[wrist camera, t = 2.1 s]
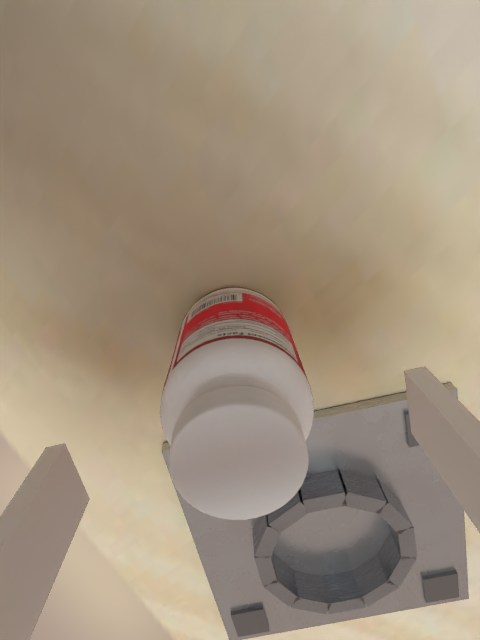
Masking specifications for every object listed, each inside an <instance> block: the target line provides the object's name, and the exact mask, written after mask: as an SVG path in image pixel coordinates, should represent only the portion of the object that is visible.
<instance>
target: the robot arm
mask: <svg viewBox="0 0 480 640" xmlns="http://www.w3.org/2000/svg"><path fill="white" fill-rule="evenodd" d="M404 373H405V382H406V391H407V400H408V409H409V418H410V427H411V433H412V435H413V436H414V438H415V439H416V441H417V442H418V444H419V445H420V447H421V448H422V449H423V451H424V452H425V454H426V455H427V457H428V458H429V460H430V461H431V463H432V464H433V465H434V467H435V468H436V470H437V471H438V473H439V474H440V476H441V477H442V479H443V480H444V482H445V483H446V484H447V486H448V487H449V489H450V490H451V492H452V493H453V495H454V496H455V498H456V499H457V500H458V502H459V503H460V505H461V506H462V508H463V509H464V511H465V512H466V514H467V515H468V517H469V518H470V519H471V521H472V522H473V524H474V525H475V527H476V528H477V530H478V531H479V533H480V422H479V421H478V420H477V419H476V418H475V416H474V415H473V414H472V413H471V412H470V411H469V410H468V409H467V408H466V407H465V406H464V405H463V404H462V403H461V402H460V401H459V400H458V399H457V398H456V397H455V396H454V395H453V394H452V393H451V392H450V391H449V390H448V389H447V388H446V387H445V386H444V385H443V384H442V383H441V382H440V381H439V380H438V379H437V378H436V377H435V376H434V375H433V374H432V373H431V372H430V371H429V370H428V369H427V368H426V367H425V366H424V367H420V368H415V369H410V370H406V371H404ZM88 501H89V497H88V494H87V492H86V490H85V487H84V485H83V483H82V481H81V478H80V476H79V474H78V472H77V469H76V467H75V465H74V462H73V460H72V458H71V456H70V453H69V451H68V449H67V447H66V444H65V443H64V444H59V445H55V446H50V447H46V448H45V450H44V451H43V453H42V454H41V456H40V457H39V459H38V460H37V462H36V463H35V465H34V466H33V468H32V469H31V471H30V473H29V474H28V476H27V477H26V479H25V480H24V482H23V483H22V485H21V486H20V488H19V489H18V491H17V492H16V494H15V495H14V497H13V498H12V500H11V501H10V503H9V505H8V506H7V507H6V509H5V510H4V512H3V514H2V515H1V517H0V640H30V637H31V635H32V632H33V630H34V628H35V625H36V623H37V621H38V619H39V616H40V614H41V612H42V609H43V607H44V605H45V602H46V600H47V597H48V595H49V593H50V590H51V588H52V586H53V583H54V581H55V579H56V576H57V574H58V572H59V569H60V567H61V565H62V562H63V560H64V558H65V555H66V553H67V551H68V548H69V546H70V544H71V541H72V539H73V537H74V534H75V532H76V529H77V527H78V525H79V522H80V520H81V518H82V515H83V513H84V511H85V508H86V506H87V504H88Z"/></svg>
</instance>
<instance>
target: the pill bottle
mask: <svg viewBox="0 0 480 640" xmlns="http://www.w3.org/2000/svg"><path fill="white" fill-rule="evenodd" d="M160 415H161V423H162V428H163V431H164V434H165V437H166V439H167V441H168V443H169V445H170V453H169V470H170V475H171V478H172V481H173V483H174V485H175V487H176V489H177V490H178V492H179V493H180V495H181V496H182V497H183V498H184V499H185V500H186V501H187V502H188V503H189V504H190V505H192V506H193V507H194V508H196V509H198V510H200V511H201V512H203V513H206V514H208V515H211V516H214V517H218V518H222V519H229V520H245V519H252V518H257V517H261V516H264V515H267V514H269V513H271V512H273V511H275V510H277V509H279V508H281V507H282V506H283V505H285V504H286V503H287V502H288V501H289V500H291V499H292V498H293V497H294V496H295V494H296V493H297V492H298V490H299V489H300V487H301V486H302V484H303V482H304V479H305V477H306V474H307V470H308V462H309V457H308V449H307V445H306V440H307V438H308V435H309V433H310V430H311V427H312V423H313V416H314V404H313V397H312V393H311V389H310V386H309V383H308V380H307V377H306V374H305V371H304V369H303V366H302V363H301V360H300V358H299V355H298V352H297V350H296V347H295V344H294V341H293V339H292V336H291V333H290V331H289V328H288V325H287V323H286V321H285V319H284V316H283V315H282V313H281V311H280V310H279V309H278V308H277V306H276V305H275V304H274V303H273V302H272V301H271V300H269V299H268V298H266V297H265V296H263V295H262V294H260V293H257V292H255V291H252V290H249V289H243V288H226V289H221V290H217V291H214V292H212V293H210V294H208V295H206V296H204V297H203V298H201V299H200V300H199V301H198V302H196V303H195V304H194V305H193V306H192V308H191V309H190V310H189V312H188V313H187V315H186V317H185V318H184V321H183V323H182V326H181V329H180V332H179V335H178V339H177V343H176V347H175V351H174V354H173V358H172V361H171V365H170V368H169V372H168V375H167V378H166V382H165V385H164V389H163V393H162V399H161V407H160Z"/></svg>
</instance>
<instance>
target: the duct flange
mask: <svg viewBox="0 0 480 640" xmlns="http://www.w3.org/2000/svg"><path fill="white" fill-rule="evenodd" d="M443 385H444V386H445V387H446V388H447V389H448V390H449V391H450V392H451V393H452V394H453V395H454V396H455V397H456V398H457V399H458V395H457V389H456V388H455V387H454V386H453V385H452V384H451V383H446V384H443ZM306 445H307V449H308V457H309V462H308V470H307V474H306V477H305V479H304V482H303V484H302V486H301V487H300V489H299V490H298V492H297V493H296V494H295V496H294V497H293V498H292V499H291V500H289V501H288V502H287V503H286V504H285V505H283V506H282V507H281V508H279V509H277V510H275V511H273V512H271V513H269V514H267V515H264V516H261V517H257V518H252V519H245V520H229V519H222V518H218V517H214V516H211V515H208V514H206V513H203V512H201V511H200V510H198V509H196V508H194V507H193V506H192V505H190V504H189V503H188V502H187V501H186V500H185V499H184V498H183V497H182V496H181V495H180V493H179V492H178V490H177V489H176V487H175V485H174V487H175V490H176V492H177V495H178V498H179V501H180V504H181V506H182V509H183V512H184V515H185V517H186V520H187V523H188V526H189V529H190V531H191V534H192V537H193V540H194V542H195V545H196V548H197V551H198V554H199V556H200V559H201V562H202V565H203V567H204V570H205V573H206V576H207V579H208V581H209V584H210V587H211V590H212V593H213V595H214V598H215V601H216V604H217V606H218V609H219V612H220V615H221V618H222V620H223V623H224V626H225V629H226V631H227V634H228V637H229V640H242V639H248V638H253V637H259V636H264V635H270V634H275V633H281V632H286V631H292V630H297V629H303V628H308V627H314V626H320V625H325V624H331V623H336V622H342V621H347V620H353V619H358V618H364V617H369V616H375V615H380V614H386V613H392V612H397V611H403V610H408V609H414V608H419V607H425V606H430V605H436V604H441V603H447V602H452V601H458V600H464V599H469V595H468V577H467V558H466V540H465V522H464V509H463V508H462V506H461V505H460V503H459V502H458V500H457V499H456V498H455V496H454V495H453V493H452V492H451V490H450V489H449V487H448V486H447V484H446V483H445V482H444V480H443V479H442V477H441V476H440V474H439V473H438V471H437V470H436V468H435V467H434V465H433V464H432V463H431V461H430V460H429V458H428V457H427V455H426V454H425V452H424V451H423V449H422V448H421V447H420V445H419V444H418V442H417V441H416V439H415V438H414V436H413V435H412V433H411V427H410V418H409V409H408V400H407V392H403V393H399V394H394V395H389V396H384V397H380V398H375V399H370V400H365V401H361V402H356V403H351V404H346V405H341V406H337V407H332V408H327V409H322V410H318V411H314V416H313V423H312V427H311V430H310V433H309V435H308V438H307V440H306ZM162 453H163V456H164V459H165V462H166V465H167V467H168V470H169V453H170V445H169V443H168V442H165V443H163V447H162ZM169 473H170V470H169ZM170 476H171V475H170ZM171 479H172V478H171ZM173 484H174V483H173Z"/></svg>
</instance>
